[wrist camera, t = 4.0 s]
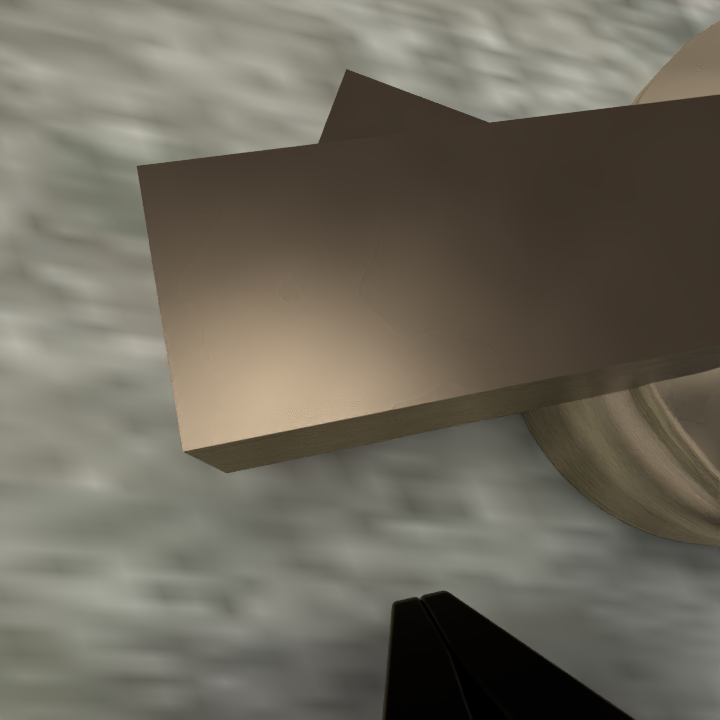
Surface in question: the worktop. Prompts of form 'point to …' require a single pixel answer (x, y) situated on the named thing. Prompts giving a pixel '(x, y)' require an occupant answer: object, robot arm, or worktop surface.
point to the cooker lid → (449, 277)
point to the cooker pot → (572, 419)
